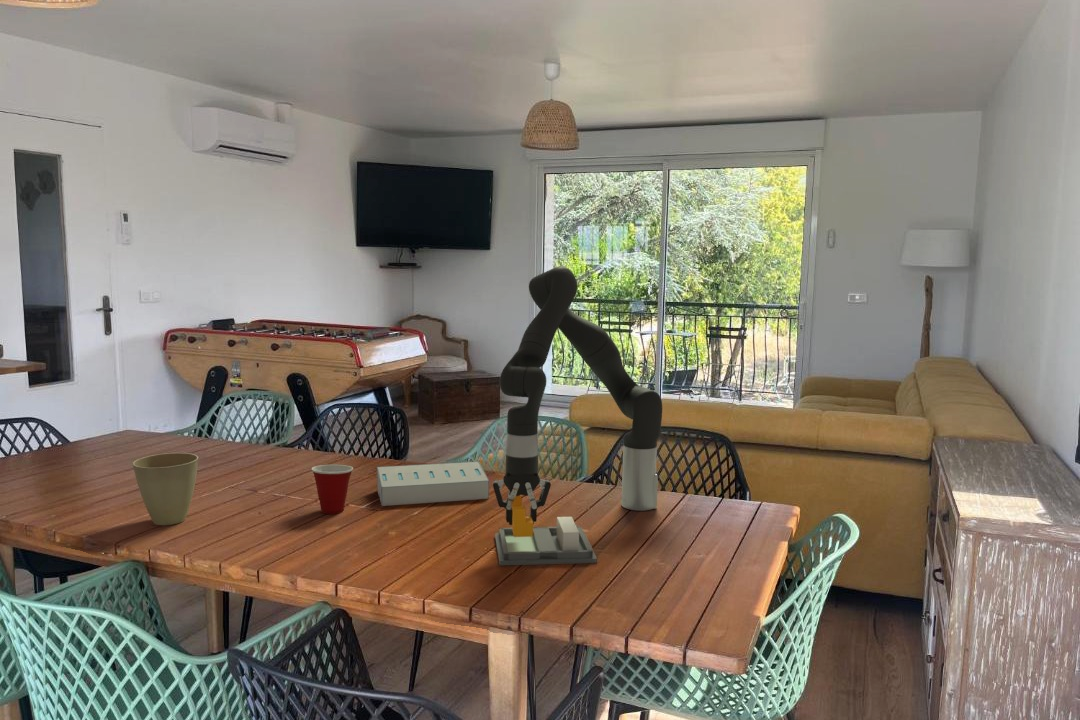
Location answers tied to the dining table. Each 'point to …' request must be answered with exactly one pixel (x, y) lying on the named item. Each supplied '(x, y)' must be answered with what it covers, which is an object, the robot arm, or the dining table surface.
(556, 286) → the robot arm
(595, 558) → the dock
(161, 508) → the plant pot
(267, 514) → the dining table surface
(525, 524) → the orange stepped block
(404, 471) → the warehouse
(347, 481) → the plastic cup
